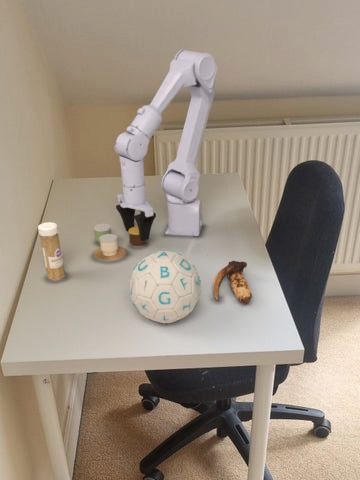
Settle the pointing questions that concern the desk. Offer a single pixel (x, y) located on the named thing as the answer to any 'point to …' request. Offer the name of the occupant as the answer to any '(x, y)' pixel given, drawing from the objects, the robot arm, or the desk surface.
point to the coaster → (120, 253)
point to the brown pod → (135, 237)
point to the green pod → (101, 230)
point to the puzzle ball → (165, 287)
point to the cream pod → (109, 244)
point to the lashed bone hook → (234, 281)
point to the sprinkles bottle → (51, 250)
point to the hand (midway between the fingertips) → (137, 235)
